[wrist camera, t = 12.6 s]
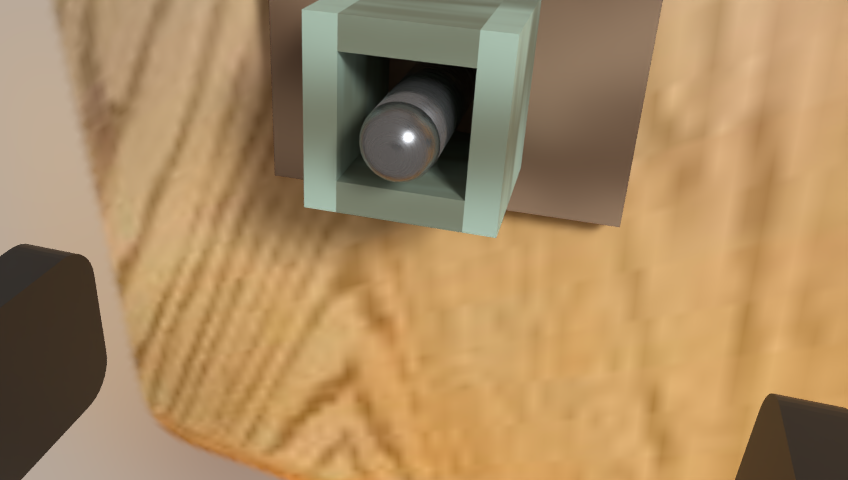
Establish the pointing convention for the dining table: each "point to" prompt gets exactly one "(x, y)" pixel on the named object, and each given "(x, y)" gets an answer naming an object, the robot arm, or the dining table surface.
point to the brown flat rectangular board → (548, 103)
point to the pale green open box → (368, 85)
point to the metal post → (416, 120)
